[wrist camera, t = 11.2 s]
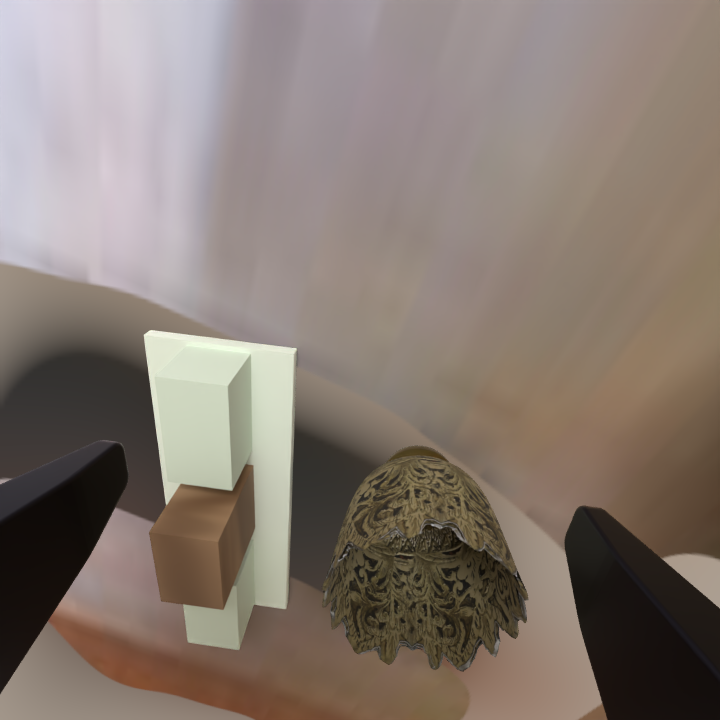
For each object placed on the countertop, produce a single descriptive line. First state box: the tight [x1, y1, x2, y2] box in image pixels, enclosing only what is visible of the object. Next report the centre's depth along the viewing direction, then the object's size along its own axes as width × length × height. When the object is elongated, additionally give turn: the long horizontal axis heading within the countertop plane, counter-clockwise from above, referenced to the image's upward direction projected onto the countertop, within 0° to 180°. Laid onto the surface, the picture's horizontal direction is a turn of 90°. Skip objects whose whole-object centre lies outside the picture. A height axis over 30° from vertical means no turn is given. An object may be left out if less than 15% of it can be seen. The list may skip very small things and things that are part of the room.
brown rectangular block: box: [149, 464, 255, 610], centre depth 23 cm, size 3×4×5 cm, turn 175°
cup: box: [322, 446, 528, 671], centre depth 20 cm, size 8×7×8 cm
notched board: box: [144, 330, 297, 650], centre depth 24 cm, size 7×18×4 cm, turn 174°
